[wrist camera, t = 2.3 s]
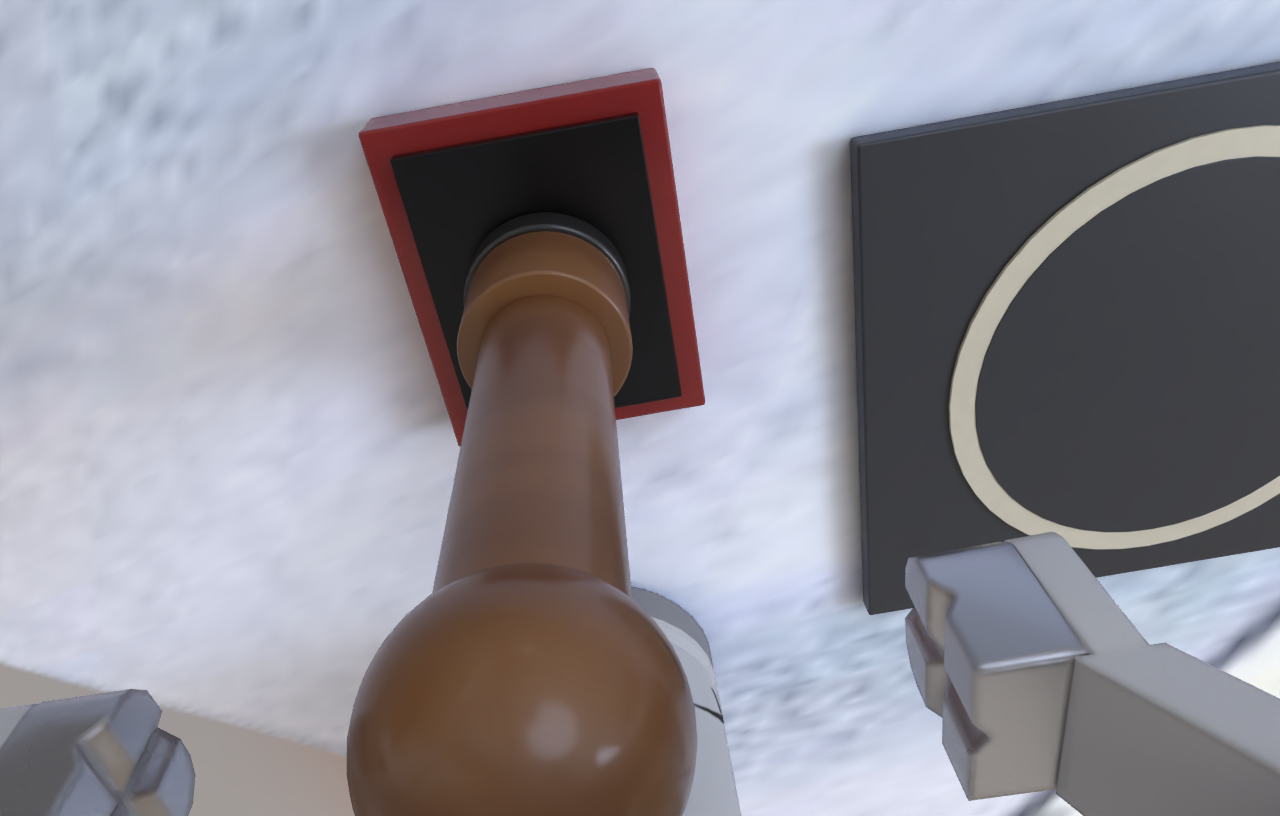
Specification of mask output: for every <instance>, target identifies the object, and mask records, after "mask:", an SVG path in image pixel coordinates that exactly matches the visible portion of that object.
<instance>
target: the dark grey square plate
mask: <svg viewBox="0 0 1280 816" xmlns="http://www.w3.org/2000/svg"><path fill="white" fill-rule="evenodd" d="M850 154H851V188H852V223H853V257H854V292H855V326H856V361H857V395H858V429H859V464H860V498H861V533H862V567H863V601H864V604H865V606H866V608H867V611H868V613H869V614H870V615H874V614H880V613H886V612H892V611H898V610H904V609H910V608H914V607H915V606H914V604H913V602H912V600H911V598H910V596H909V594H908V591H907V589H906V587H905V568H906V565H907V561H908V558H911V557H916V556H922V555H927V554H933V553H939V552H944V551H950V550H956V549H961V548H967V547H973V546H978V545H984V544H990V543H995V542H1004V541H1005V540H1009V539H1015V538H1020V537H1026V536H1031V535H1036V534H1042V533H1047V532H1055V533H1057V534H1059V535H1061V536H1063V537H1064V539H1065V540H1066V541H1067V542H1068V544H1069V545H1070V546H1071V547H1072V549H1073V550H1074V551H1075V553H1076V554H1077V555H1078V556H1079V558H1080V559H1081V560H1082V561H1083V563H1084V564H1085V565H1086V566H1087V568H1088V569H1089V570H1090V571H1091V573H1092V574H1093V575H1094V576H1095V578H1096V577H1102V576H1108V575H1115V574H1121V573H1127V572H1133V571H1139V570H1145V569H1151V568H1157V567H1163V566H1169V565H1175V564H1181V563H1187V562H1193V561H1199V560H1205V559H1211V558H1217V557H1223V556H1229V555H1235V554H1241V553H1247V552H1253V551H1259V550H1265V549H1271V548H1277V547H1280V62H1276V63H1271V64H1265V65H1260V66H1254V67H1248V68H1243V69H1237V70H1231V71H1226V72H1220V73H1215V74H1209V75H1203V76H1198V77H1192V78H1186V79H1181V80H1175V81H1170V82H1164V83H1158V84H1153V85H1147V86H1141V87H1136V88H1130V89H1124V90H1119V91H1113V92H1108V93H1102V94H1096V95H1091V96H1085V97H1079V98H1074V99H1068V100H1063V101H1057V102H1051V103H1046V104H1040V105H1034V106H1029V107H1023V108H1018V109H1012V110H1006V111H1001V112H995V113H989V114H984V115H978V116H972V117H967V118H961V119H956V120H950V121H944V122H939V123H933V124H927V125H922V126H916V127H911V128H905V129H899V130H894V131H888V132H882V133H877V134H871V135H866V136H860V137H854V138H852V139H851V141H850Z"/></svg>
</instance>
